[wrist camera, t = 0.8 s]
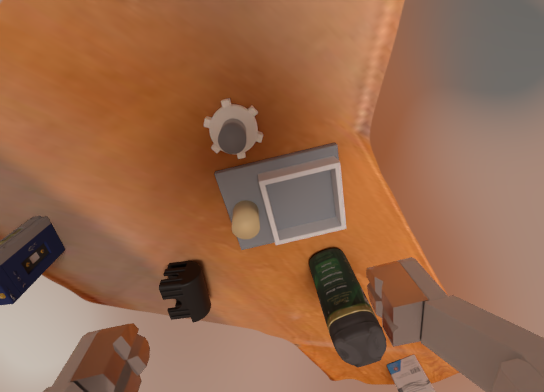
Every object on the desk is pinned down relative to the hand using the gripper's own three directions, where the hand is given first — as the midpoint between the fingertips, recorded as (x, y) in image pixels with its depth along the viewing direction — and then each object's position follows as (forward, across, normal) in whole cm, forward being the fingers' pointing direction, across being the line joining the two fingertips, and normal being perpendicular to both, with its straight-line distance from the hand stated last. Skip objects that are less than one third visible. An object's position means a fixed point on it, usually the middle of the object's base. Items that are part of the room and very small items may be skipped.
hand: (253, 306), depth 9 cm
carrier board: (+33, -3, +15) cm, 37 cm away
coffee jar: (+34, -9, +33) cm, 48 cm away
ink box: (+34, -25, +78) cm, 89 cm away
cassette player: (+34, +38, +10) cm, 52 cm away
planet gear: (+33, +2, 0) cm, 33 cm away
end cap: (+34, +19, +28) cm, 48 cm away
